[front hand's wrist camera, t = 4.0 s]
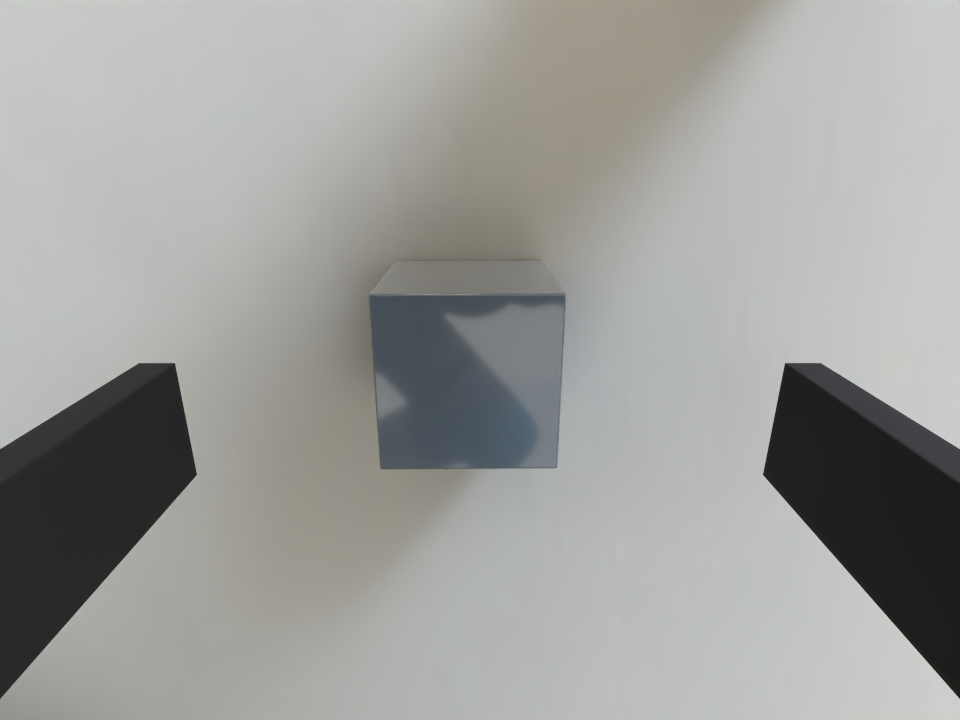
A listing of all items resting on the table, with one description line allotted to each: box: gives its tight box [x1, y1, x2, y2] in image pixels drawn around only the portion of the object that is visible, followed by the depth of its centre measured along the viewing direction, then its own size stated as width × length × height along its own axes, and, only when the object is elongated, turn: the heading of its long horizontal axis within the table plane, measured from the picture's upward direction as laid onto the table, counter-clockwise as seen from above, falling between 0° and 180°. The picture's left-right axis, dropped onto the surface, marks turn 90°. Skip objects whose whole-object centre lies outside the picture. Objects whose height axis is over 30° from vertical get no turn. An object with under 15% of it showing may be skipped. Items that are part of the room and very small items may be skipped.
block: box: [369, 260, 566, 469], centre depth 17 cm, size 5×5×5 cm
